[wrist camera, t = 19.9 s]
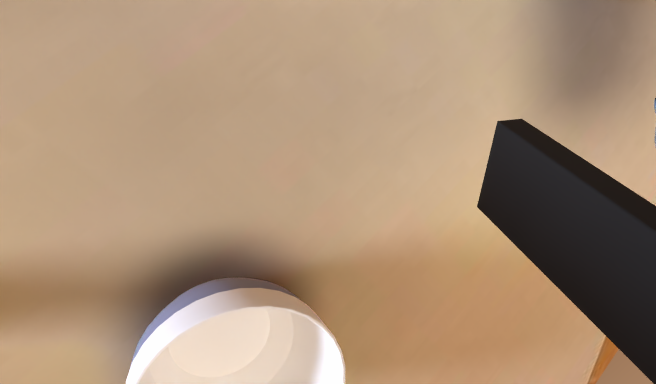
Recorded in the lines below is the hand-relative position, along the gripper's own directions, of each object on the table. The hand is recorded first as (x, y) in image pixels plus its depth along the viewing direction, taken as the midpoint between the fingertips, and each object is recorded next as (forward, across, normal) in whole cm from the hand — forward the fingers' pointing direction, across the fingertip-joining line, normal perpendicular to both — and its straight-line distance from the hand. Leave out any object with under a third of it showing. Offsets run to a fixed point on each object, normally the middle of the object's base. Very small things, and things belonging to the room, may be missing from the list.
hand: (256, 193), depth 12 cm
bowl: (+22, 0, -27) cm, 35 cm away
